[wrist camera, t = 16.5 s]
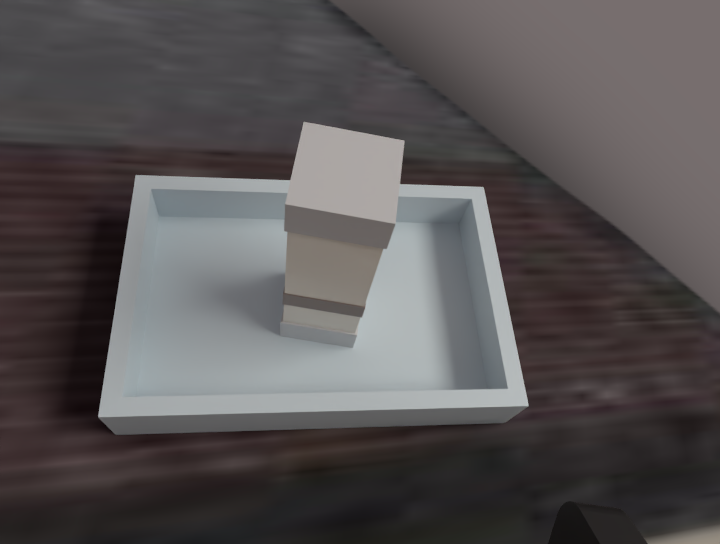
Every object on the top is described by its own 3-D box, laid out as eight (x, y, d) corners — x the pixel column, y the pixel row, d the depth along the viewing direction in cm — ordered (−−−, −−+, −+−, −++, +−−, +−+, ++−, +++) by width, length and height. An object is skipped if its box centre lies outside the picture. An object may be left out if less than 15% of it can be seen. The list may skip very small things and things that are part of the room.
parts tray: (115, 434, 25) (97, 417, 23) (147, 209, 31) (135, 175, 28) (504, 423, 28) (528, 406, 25) (466, 218, 34) (483, 187, 31)
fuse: (279, 335, 28) (284, 204, 18) (293, 272, 30) (303, 121, 20) (352, 348, 28) (395, 224, 18) (361, 284, 30) (404, 140, 20)
